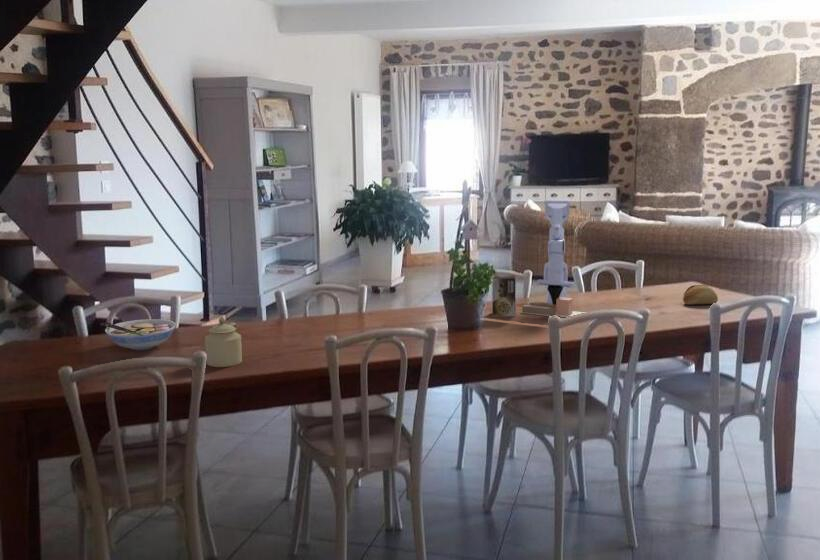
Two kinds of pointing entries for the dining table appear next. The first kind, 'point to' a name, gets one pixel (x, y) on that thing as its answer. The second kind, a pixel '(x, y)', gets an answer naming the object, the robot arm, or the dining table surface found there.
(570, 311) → the block
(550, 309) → the chute board
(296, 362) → the dining table surface
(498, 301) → the coffee box
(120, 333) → the ramen bowl
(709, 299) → the bread roll
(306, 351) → the dining table surface
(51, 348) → the dining table surface
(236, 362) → the sugar bowl
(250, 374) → the dining table surface
